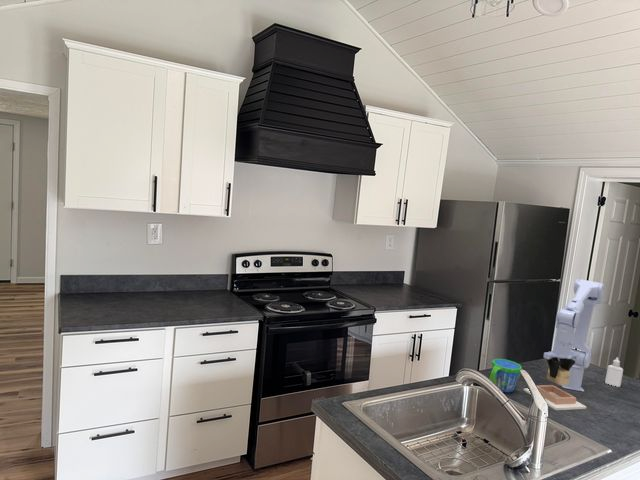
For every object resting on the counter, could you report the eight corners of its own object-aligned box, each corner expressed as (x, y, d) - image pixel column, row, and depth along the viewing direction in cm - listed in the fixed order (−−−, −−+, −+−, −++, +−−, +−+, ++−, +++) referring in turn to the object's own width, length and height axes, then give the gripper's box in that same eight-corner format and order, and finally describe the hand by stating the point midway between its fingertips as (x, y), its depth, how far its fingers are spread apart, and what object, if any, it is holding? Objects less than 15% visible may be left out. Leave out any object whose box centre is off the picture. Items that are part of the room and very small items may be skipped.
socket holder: (523, 390, 177) (524, 383, 177) (552, 389, 182) (553, 382, 181) (555, 410, 162) (557, 402, 162) (586, 408, 167) (587, 400, 166)
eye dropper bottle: (616, 388, 191) (621, 360, 190) (602, 382, 196) (607, 355, 195) (622, 387, 193) (627, 359, 192) (609, 381, 198) (613, 355, 197)
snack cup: (498, 397, 169) (503, 370, 168) (477, 384, 178) (481, 359, 177) (528, 393, 175) (532, 367, 174) (506, 381, 185) (510, 357, 184)
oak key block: (546, 378, 173) (548, 365, 173) (555, 378, 175) (557, 365, 174) (559, 385, 168) (561, 372, 167) (567, 385, 169) (570, 372, 168)
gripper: (556, 345, 164) (550, 381, 165) (587, 345, 168) (581, 381, 170) (541, 338, 170) (535, 373, 172) (572, 339, 175) (566, 373, 176)
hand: (557, 377), depth 171 cm, fingers closed on oak key block, 4 cm apart
